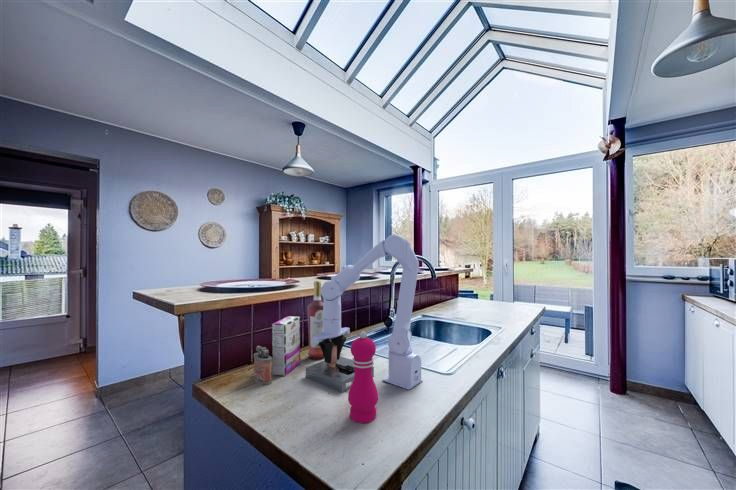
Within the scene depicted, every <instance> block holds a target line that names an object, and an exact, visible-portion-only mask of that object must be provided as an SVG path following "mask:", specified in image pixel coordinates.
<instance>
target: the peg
mask: <svg viewBox="0 0 736 490" xmlns="http://www.w3.org/2000/svg"><path fill="white" fill-rule="evenodd" d="M336 362H337V345H333V348H332V356H331V363H328V366H330V367H333V368H336V369H338V372H340V367H337V366H335V363H336Z"/></svg>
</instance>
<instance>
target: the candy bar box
mask: <svg viewBox="0 0 736 490" xmlns="http://www.w3.org/2000/svg"><path fill="white" fill-rule="evenodd" d="M271 334H272V335H271V343H272V345H271V347H272V349H271V350H272V356H271V357H272V361H271V372H272V376H279V377H280V376H281V377H284V376H285V377H286V376H287V375H288V374H290V373H291V372H292V371H293V370H294V369H295V368H296V367H297V366H299V365H300V364H301V316H291V315H289V316H285V317H283V318H281V319H279V320H278V321H276V322H275V321H274V323H271Z"/></svg>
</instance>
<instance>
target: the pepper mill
mask: <svg viewBox="0 0 736 490" xmlns="http://www.w3.org/2000/svg"><path fill="white" fill-rule="evenodd" d="M350 345H351V346H350V353H351V355H352V356H353V358H352V360H353V365H354V366H355V374H354V379H353V380H352V381H351V382H352V383H351V385H350V387H349V389H348V395H347V402H348V403H349V405H350V408H349V417H350V419H351V420H352V421H353V422H356V423H358V424H359V423H360V424H366V423H370V422H373V421H374V420H375V419H376V417H377V407H376V405H377V404H378V402H379V392H378V389H377V386H376V383H375V380H374V377H372V366H373V367H374V364H375V363H374V359H375V358H374V355H375V354H376V353H377V351H376V350H377V347H376V343H375V341H373V339H371V338H369V337H368V333H367V331H365V330H362V331H361V332H360V333H359V337H358V338H355V339H354V340H353V341H352V343H351V344H350Z"/></svg>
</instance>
